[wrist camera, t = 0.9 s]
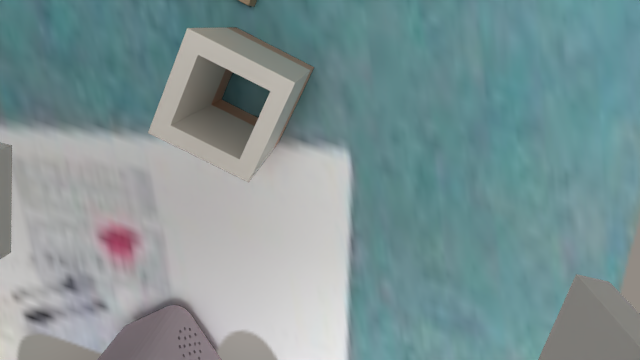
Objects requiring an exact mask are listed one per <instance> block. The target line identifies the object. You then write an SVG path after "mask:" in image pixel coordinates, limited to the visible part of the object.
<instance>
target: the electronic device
mask: <svg viewBox="0 0 640 360" xmlns="http://www.w3.org/2000/svg"><path fill="white" fill-rule="evenodd" d="M98 360H221V358H220V357H219V355H218V354H217V352H216V351H215V349H214V348H213V347H212V345H211V344H210V342H209V341H208V339H207V338H206V336H205V335H204V333H203V332H202V330H201V329H200V327H199V326H198V325H197V323H196V322H195V320H194V319H193V317H192V316H191V314H190V313H189V312H188V311H187V310H186V309H185V308H183V307H181V306H177V305H171V306H167V307H165V308H162V309H160V310H158V311H156V312H154V313H152V314H150V315H147V316H145V317H143V318H141V319H139V320H137V321H134V322H132V323H130V324H128V325H126V326H125V327H124V328H123V329H122V330H121V331H120V332H119V334H118V335H117V336H116V337H115V339H114V340H113V341H112V342H111V344H110V345H109V346H108V347H107V349H106V350H105V351H104V352H103V354H102V355H101V356H100V357H99V358H98Z"/></svg>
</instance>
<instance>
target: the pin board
mask: <svg viewBox="0 0 640 360" xmlns="http://www.w3.org/2000/svg"><path fill="white" fill-rule="evenodd" d="M239 1H241V2H242V3H244V4H246V5H248V6H255V4H256V1H257V0H239Z"/></svg>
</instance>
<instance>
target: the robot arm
mask: <svg viewBox="0 0 640 360" xmlns="http://www.w3.org/2000/svg"><path fill="white" fill-rule="evenodd" d="M11 196H12V145H8V144H4V143H0V259H1V258H3V257H4V256H6V255H7V254H9V253H10V252H11ZM538 360H640V313H639V312H638V311H637V310H636V309H635V308H634V307H633V306H632V305H631V304H630V303H629V302H628V301H627V300H626V299H625V298H624V297H623V296H622V295H621V294H620V293H619V292H618V291H617V290H616V288H615V287H614V286H613V285H612V284H611V283H610V282H608V281H603V280H599V279H594V278H590V277H586V276H581V275H577V274H576V276H575V278H574V280H573V283H572V285H571V287H570V289H569V292H568V294H567V296H566V298H565V301H564V303H563V305H562V307H561V310H560V312H559V314H558V316H557V319H556V321H555V323H554V325H553V328H552V330H551V332H550V335H549V337H548V339H547V341H546V344H545V346H544V348H543V350H542V353H541V355H540V357H539V359H538Z"/></svg>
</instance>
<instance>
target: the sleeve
mask: <svg viewBox="0 0 640 360" xmlns="http://www.w3.org/2000/svg"><path fill="white" fill-rule="evenodd" d="M313 69H314V67H313V66H311V65H309V64H307V63H305V62H303V61H301V60H299V59H297V58H295V57H293V56H291V55H289V54H287V53H285V52H283V51H281V50H279V49H277V48H275V47H273V46H271V45H269V44H268V43H266V42H264V41H262V40H260V39H258V38H256V37H254V36H252V35H250V34H248V33H246V32H244V31H242V30H240V29H238V28H187V30H186V33H185V36H184V38H183V41H182V44H181V46H180V49H179V52H178V54H177V57H176V60H175V62H174V65H173V68H172V70H171V73H170V76H169V78H168V81H167V84H166V86H165V89H164V92H163V94H162V97H161V100H160V102H159V105H158V108H157V110H156V113H155V116H154V118H153V121H152V124H151V126H150V129H149V132H148V133H149V134H151V135H153V136H155V137H157V138H159V139H161V140H163V141H165V142H167V143H169V144H171V145H173V146H175V147H177V148H179V149H182V150H184V151H186V152H188V153H190V154H192V155H194V156H196V157H198V158H200V159H202V160H204V161H206V162H208V163H210V164H212V165H214V166H216V167H218V168H220V169H222V170H224V171H226V172H228V173H230V174H232V175H235V176H237V177H239V178H241V179H243V180H245V181H247V182H249V181H250V180H251V179H252V177H253V176H254V175H255V173H256V172H257V171H258V169H259V168H260V167H261V165H262V164H263V163H264V161H265V160H266V159H267V157H268V156H269V155H270V153H271V152H272V151H273V149H274V148H275V147H276V145H277V144H278V142H279V141H280V138H281V136H282V134H283V132H284V130H285V128H286V126H287V124H288V122H289V119H290V117H291V115H292V113H293V111H294V109H295V107H296V105H297V103H298V100H299V98H300V96H301V94H302V92H303V90H304V88H305V86H306V84H307V81H308V79H309V77H310V75H311V73H312V71H313ZM232 73H235V74H237V75H239V76H241V77H243V78H245V79H247V80H249V81H251V82H253V83H255V84H257V85H259V86H261V87H263V88H265V89H267V90H269V91H270V93H269V95H268V98H267V100H266V102H265V104H264V107H263V109H262V111H261V113H260V115H259V118H258V117H256V116H254V115H252V114H250V113H248V112H246V111H244V110H242V109H240V108H238V107H236V106H234V105H232V104H230V103H228V102H226V101H224V100H222V97H223V94H224V92H225V89H226V87H227V85H228V82H229V80H230V78H231V75H232Z"/></svg>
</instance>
